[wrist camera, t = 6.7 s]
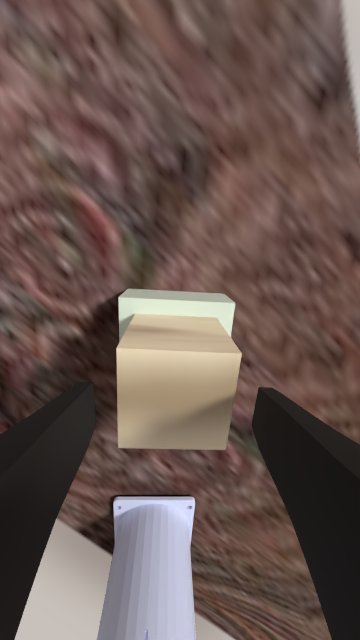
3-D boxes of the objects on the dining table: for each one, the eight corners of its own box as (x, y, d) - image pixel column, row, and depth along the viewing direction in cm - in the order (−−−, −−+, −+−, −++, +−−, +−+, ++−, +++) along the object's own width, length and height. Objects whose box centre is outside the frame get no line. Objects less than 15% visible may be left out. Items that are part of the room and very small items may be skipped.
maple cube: (208, 387, 15) (225, 449, 11) (134, 384, 15) (118, 447, 10) (217, 317, 14) (241, 353, 9) (135, 313, 14) (116, 348, 9)
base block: (213, 377, 19) (221, 400, 16) (128, 374, 18) (120, 397, 15) (223, 293, 16) (235, 303, 14) (127, 288, 16) (118, 297, 13)
